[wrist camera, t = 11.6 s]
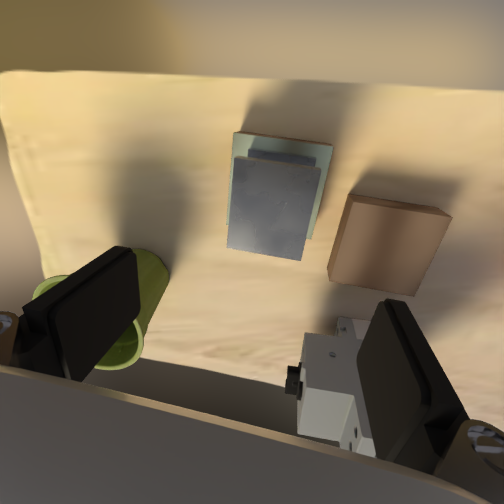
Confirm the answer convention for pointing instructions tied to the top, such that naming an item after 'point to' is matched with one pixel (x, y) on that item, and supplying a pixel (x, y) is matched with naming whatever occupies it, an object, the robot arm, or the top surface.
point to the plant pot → (132, 340)
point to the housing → (272, 202)
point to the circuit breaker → (332, 388)
